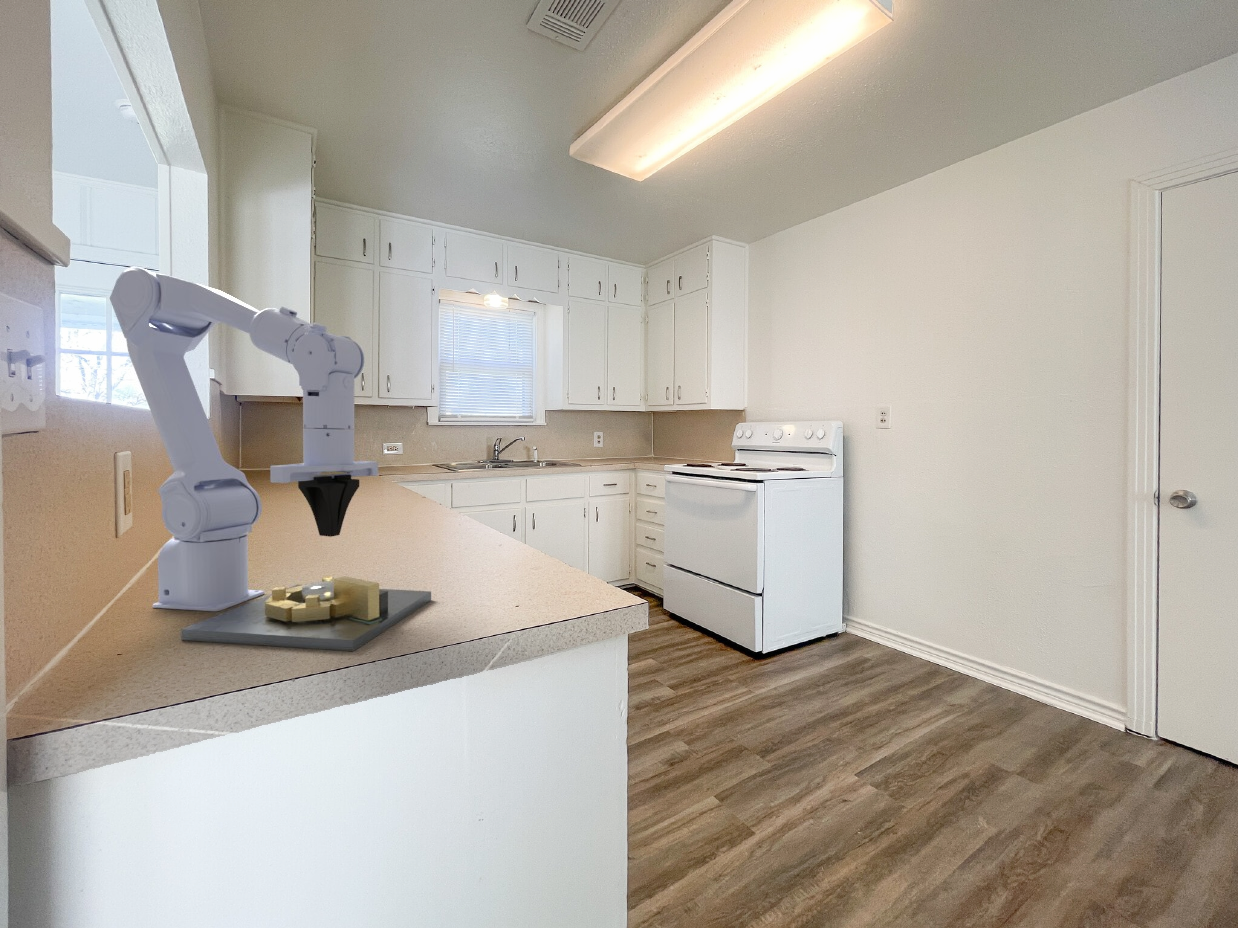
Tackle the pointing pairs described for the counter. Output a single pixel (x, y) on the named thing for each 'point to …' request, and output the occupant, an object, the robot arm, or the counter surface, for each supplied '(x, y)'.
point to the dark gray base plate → (306, 622)
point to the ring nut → (348, 600)
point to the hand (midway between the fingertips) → (329, 535)
